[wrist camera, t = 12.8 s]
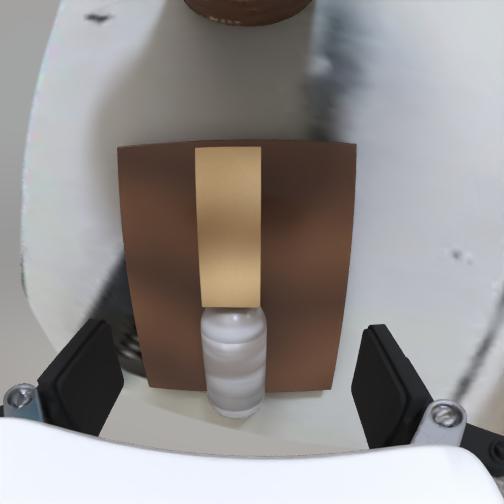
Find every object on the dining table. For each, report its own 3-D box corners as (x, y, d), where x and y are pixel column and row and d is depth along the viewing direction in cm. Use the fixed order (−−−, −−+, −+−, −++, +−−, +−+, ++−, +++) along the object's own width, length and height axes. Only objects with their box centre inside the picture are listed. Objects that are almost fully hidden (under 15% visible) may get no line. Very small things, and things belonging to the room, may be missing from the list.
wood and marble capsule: (198, 149, 19) (183, 148, 15) (267, 148, 19) (271, 146, 15) (212, 392, 25) (206, 429, 21) (263, 393, 25) (265, 430, 21)
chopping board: (125, 147, 21) (116, 147, 19) (350, 144, 21) (356, 143, 19) (153, 377, 27) (149, 387, 25) (328, 379, 27) (331, 389, 25)
